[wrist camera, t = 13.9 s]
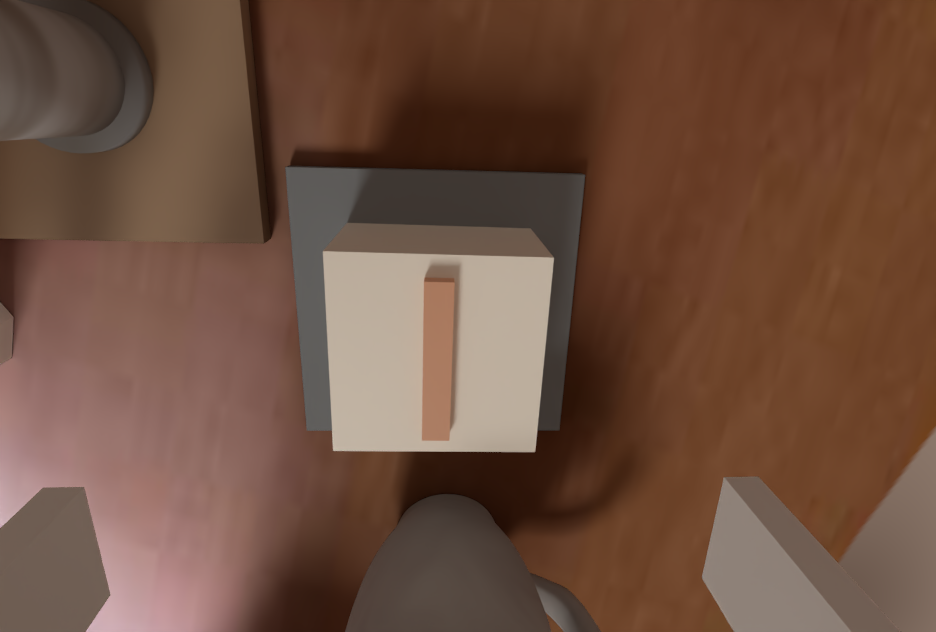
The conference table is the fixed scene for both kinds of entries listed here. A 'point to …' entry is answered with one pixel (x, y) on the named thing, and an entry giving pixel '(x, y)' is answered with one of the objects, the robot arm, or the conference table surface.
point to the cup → (5, 334)
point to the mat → (429, 203)
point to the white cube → (436, 337)
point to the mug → (458, 578)
